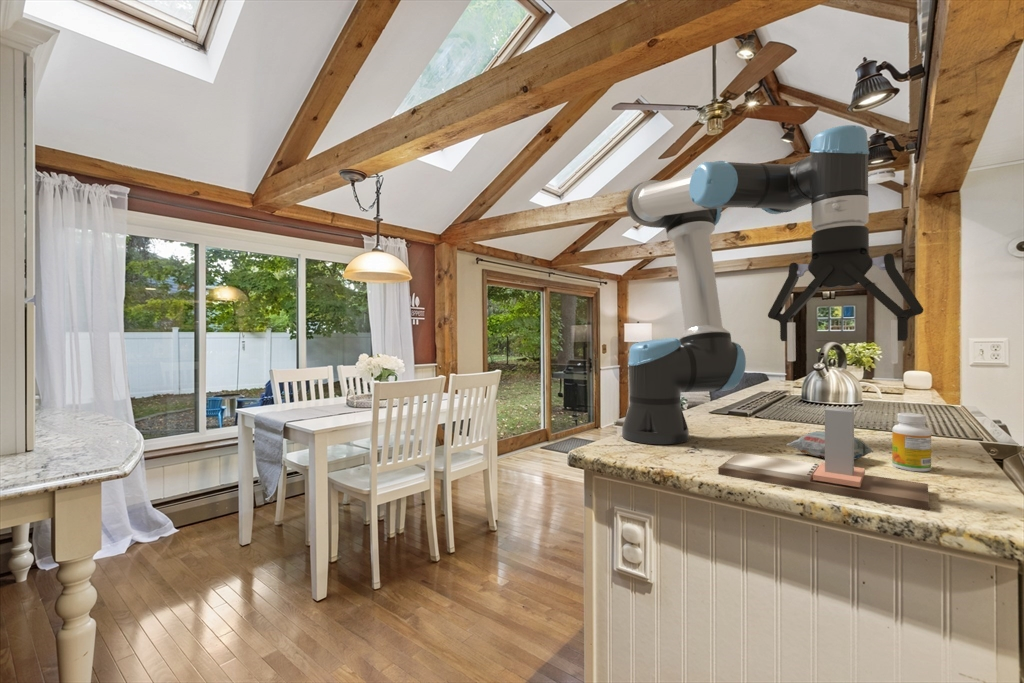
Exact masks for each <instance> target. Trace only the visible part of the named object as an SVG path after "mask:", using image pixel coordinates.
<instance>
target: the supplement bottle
mask: <svg viewBox="0 0 1024 683" xmlns="http://www.w3.org/2000/svg"><path fill="white" fill-rule="evenodd" d="M897 422H898V424H895V425H893V427H892V430H891V432H892V433H891V434H892V438H891V439H892V442H891V443H892V444H891V445H892V446H891V447H892V460H891V461H892V466H893V467H895V468H897V469H900V470H904V471H908V472H919V473H921V472H924V473H925V472H926V473H927V472H930V471H931V470H932V431H931V429H930V428H929V427H927V426H926V425H925V424H927V415H925V414H923V413H915V412H898V413H897Z"/></svg>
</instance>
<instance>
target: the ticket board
mask: <svg viewBox="0 0 1024 683" xmlns="http://www.w3.org/2000/svg"><path fill="white" fill-rule="evenodd" d="M819 466H820V464H819V463H814V462H806V461H801V460H800V461H799V460H794V459H793V460H792V459H786V458H779V457H772V456H766V455H765V456H764V455H756V454H751V453H743V452H738V453H737V454H736V455H733V457H731V458H729V459H728V460H726V461H725V462H724V463H722V464H721V465H720V466H718V467H717V470H718V473H717V474H718V475H720V476H721V475H722V476H727V477H733V478H740V479H745V480H751V481H755V482H762V483H768V484H774V485H780V486H786V487H791V488H795V489H803V490H808V491H813V492H820V493H826V494H831V495H836V496H837V495H838V496H842V497H848V498H854V499H861V500H866V501H871V502H877V503H881V504H882V503H884V504H889V505H895V506H900V507H901V506H902V507H906V508H912V509H917V510H918V509H919V510H922V511H923V510H924V511H930V499H929V498H930V497H929V485H928V483H925V482H917V481H911V480H910V481H909V480H905V479H903V480H902V479H897V478H890V477H883V476H875V475H869V474H864V477H863V480H862V483H861V486H860V487H855V486H848V485H842V484H836V483H830V482H823V481H817V480H813V474H814V473H815V471H816V470H817V468H818V467H819Z"/></svg>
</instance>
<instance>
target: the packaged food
mask: <svg viewBox="0 0 1024 683" xmlns="http://www.w3.org/2000/svg"><path fill="white" fill-rule="evenodd" d="M785 446H790V447H793V448H795V449H797V450H798V451H799V452H800V453H803V454H806V455H809V456H813V457H816V458H821V459H824V460H825V431H821V430H820V431H819V430H817V431H811V432H808V433H807V434H804V435H802V436H800V437H799V438H798V439H795V440H793V441H792V442H788V443H787V444H786V445H785ZM873 452H874V450H873V449H872V448H871V447H870V446H869V445H868V444H866V443H865V442H863V441H862V440H860V439H859V438H857V437H855V436H854V460H857V459H860V458H862V457H865V456H867V455H869V454H871V453H873Z"/></svg>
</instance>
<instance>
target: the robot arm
mask: <svg viewBox="0 0 1024 683" xmlns="http://www.w3.org/2000/svg"><path fill="white" fill-rule="evenodd" d="M809 152H810V155H808V156H806V157H804V158H802V159H800V160H798V161H796V162H794V163H791V164H783V163H778V164H777V163H758V162H757V163H749V162H736V161H735V162H733V161H732V162H728V161H725V160H717V161H715V160H714V161H704V162H702V163H700V164H699V165H698V166H697V167H696V169H694V171H693V172H691V173H690V172H689V173H687V174H683V175H679V176H677V177H672V178H669V179H665V180H659V179H658V180H655V179H650V180H646V181H642V182H640V183H638V184H636V185H634V187H632V189H630V191H629V193H628V196H627V198H626V210H627V213H628V215H629V217H630V218H631V219H632V220H633V221H634V222H636V224H637V223H638V224H639V225H641V226H643V227H648V228H657V229H659V228H660V229H661V228H662V229H665V232H666V238H667V239H668V240H669V241H671V242H672V243H673V245H674V246H673V248H674V254H675V264H676V269H677V270H676V271H677V277H678V279H677V280H678V287H679V294H680V301H681V310H682V317H683V326H684V332H683V334H682V335H681V336H680V337H668V338H659V339H658V338H657V339H656V338H655V339H650V340H644V341H639V342H636V343H635V342H634V343H633V344H632V345H631V346H630V347H629V350H628V351H629V353H628V354H629V356H628V363H627V364H628V378H629V379H628V381H629V382H628V384H629V388H628V390H629V392H628V395H629V398H628V399H629V404H628V405H629V406H628V408H627V411H626V415H625V418H624V421H623V424H622V428H621V432H622V435H621V436H622V438H624V439H625V440H628V441H630V442H635V443H640V444H648V445H677V444H683V443H686V442H688V441H689V439H690V431H689V428H688V427H689V426H688V424H687V421H686V418H685V416H684V413H683V410H682V407H681V406H682V405H681V397H682V396H681V394H682V393H703V392H704V393H705V392H706V393H707V392H709V393H710V392H712V393H717V392H718V393H719V392H725V391H730V390H733V389H735V388H736V387H737V386H738V385H739V384H740V383H741V381H742V379H743V377H744V374H745V371H746V367H747V366H746V363H747V361H746V354H745V351H744V349H743V348H742V345H740V344H739V343H738V342H734V341H732V335H731V332H730V331H728V330H727V329H725V327H723V322H722V315H721V307H720V300H719V293H718V287H717V286H718V285H717V280H716V279H717V278H716V273H715V265H714V259H713V258H714V257H713V252H712V245H711V235H712V234H713V232H714V231H715V229H716V226H717V224H718V223H719V221H720V219H721V217H722V213H721V211H722V210H723V208H750V209H751V208H752V209H761V210H763V211H765V212H766V213H767V214H769V215H779V214H783V213H789V212H792V211H795V210H797V209H798V208H801V207H803V206H806V205H809V204H810V206H811V229H812V230H814V232H813V233H812V234H811V259H810V261H809V263H797V262H791V263H790V264H789V266H788V267H789V268H788V276H787V277H786V280H785V281H784V283H783V285H782V287H781V289H780V291H779V293H778V294H777V296H776V298H775V300H774V302H773V304H772V306H771V307H770V309H769V312H768V313H767V317H768V318H769V319H771V320H774V321H777V322H779V329H780V331H779V338H780V340H781V342H786V344H787V346H786V348H787V353H786V354H787V360H786V361H787V362H796V359H797V358H796V357H797V352H796V351H797V350H796V348H797V346H796V338H797V337H796V322H792V321H791V320H792V319H793V318H794V317H795V316H796V315H797V314H798V313H799V312H800V311H801V309H802V308H804V306H805V305H806V304H807V303H808V302H809V301H810V300H811V299H812V298H813V297H814V295H815V294H816V293H818V291H820V290H821V289H822V288H823V287H824V288H827V289H835V288H839V287H842V288H852V287H854V286H856V285H857V284H860V285H861V286H862V287H863V288H864V289H865V290H866V291H867V292H868V293H870V294H871V295H872V296H873V297H874V298H875V299H876V300H878V301H879V303H881V304H882V305H883V306H884V307H886V308H887V309H888V311H889V312H891V313H892V314H894V316H896V318H897V319H890V364H892V365H893V364H894V365H895V364H897V365H898V363H899V342H906V341H907V340H908V337H909V334H908V333H909V332H908V331H909V329H908V327H909V326H908V325H909V324H908V322H909V319H910V318H913V317H915V316H918V315H922V314H923V313H924V308H923V305H921V303H920V301H919V300H918V298H917V297H916V296H915V294H914V292H913V291H912V289H911V288H910V286H909V285H908V284H907V283H906V281H905V279H904V278H903V277H902V275H901V273H900V272H899V271H898V269H897V266H896V261H895V255H894V254H893V253H886V254H885V255H882V256H876V257H871V255H870V251H869V250H870V249H869V248H870V246H869V245H870V242H869V241H870V240H869V239H870V237H869V236H870V235H869V233H870V232H869V228H868V227H867V226H866V225H867V224H868V223H869V222H870V221H869V220H870V217H869V213H870V212H869V211H870V208H869V206H870V205H869V201H870V199H869V198H870V197H869V155H870V150H869V143H868V133H867V130H866V129H865V127H862V126H861V125H855V124H854V125H852V124H848V125H846V124H845V125H840V126H839V125H838V126H835V127H831V128H827V129H825V130H822V131H820V132H819V133H817V134H816V135H815V136H814V137H813V139H812V140H811V142H810V149H809ZM873 266H877V267H878V269H879V270H880V271H886V274H887V275H888V277H889V278H890V280H891V281H892V283H893V284H894V286H895V288H896V289H897V290H898V292H899V294H900V295H901V296H902V298H903V300H904V301H905V302H906V304H907V305H908V307H909V308H907V309H903V308H902V307H901V306H900V305H899V304H897V303H896V302H895V301H894V300H893V299H891V297H889V296H888V295H887V294H886V293H885V292H884V291H883V290H881V289H880V288H879V287H878V286H877V285H876V284H875V283H874V282H872V281H871V280H870V279H869V278H868V277H867V276H866V274H867V273H868V272H869V271H870V270H871V269H872V267H873ZM806 272H809V273H810V274H811V275H812V276H813V279H812V281H811V282H810V283H809V284H808V285H807V286H806V288H805V289H804V290H803V291H802V292H801V293H800V294H799V295H798V296H797V298H795V300H794V301H793V302H792V303H791V304H790V305H789V306H788V308H787V309H785V311H783V309H784V308H785V305H786V304H787V302H788V300H789V297H790V296H791V295H792V292H793V290H794V289H795V286H796V285H797V283H798V281H799V279H800V278H801V277H803V276H804V275H805V273H806ZM782 311H783V313H781V312H782Z"/></svg>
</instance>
